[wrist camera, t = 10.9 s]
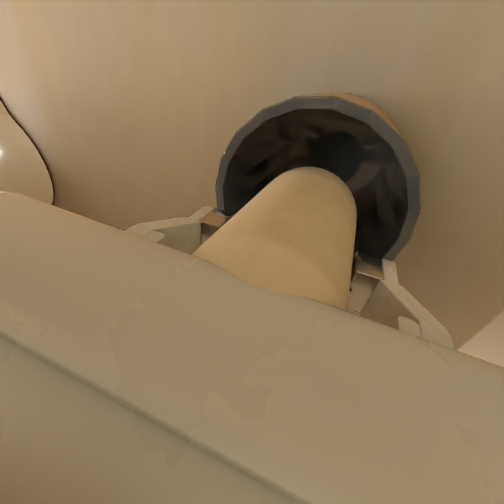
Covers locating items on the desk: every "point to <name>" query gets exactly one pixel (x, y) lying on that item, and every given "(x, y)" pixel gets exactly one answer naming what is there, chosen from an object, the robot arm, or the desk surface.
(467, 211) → the desk surface
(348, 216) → the candle
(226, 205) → the pen holder
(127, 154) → the desk surface
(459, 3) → the desk surface
